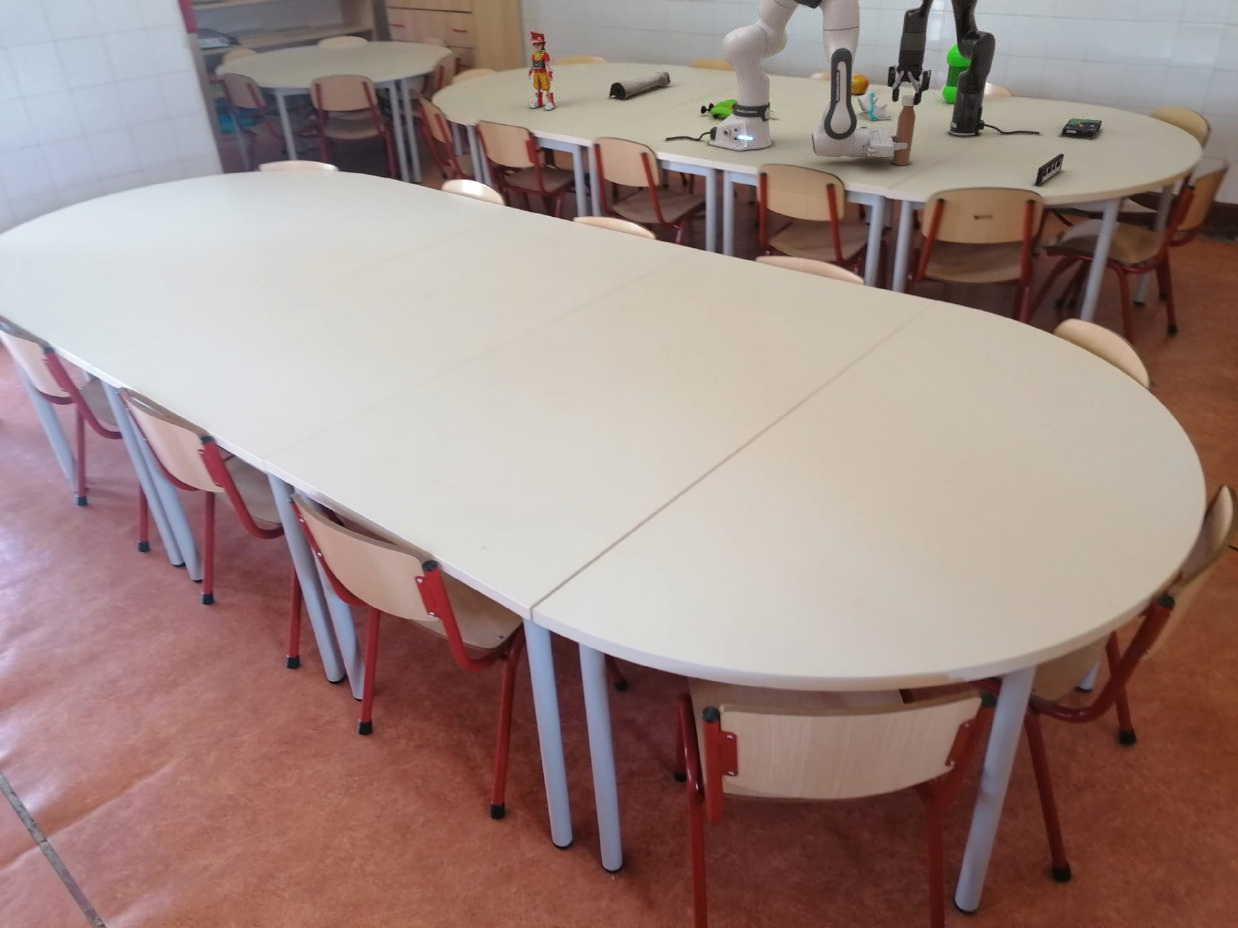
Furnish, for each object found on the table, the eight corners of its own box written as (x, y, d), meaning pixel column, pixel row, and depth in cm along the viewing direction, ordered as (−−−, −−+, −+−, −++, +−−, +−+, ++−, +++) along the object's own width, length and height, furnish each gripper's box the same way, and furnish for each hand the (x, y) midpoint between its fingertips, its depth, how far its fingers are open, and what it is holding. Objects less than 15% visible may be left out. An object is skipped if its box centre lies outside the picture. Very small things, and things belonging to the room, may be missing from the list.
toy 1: (525, 109, 381) (517, 32, 364) (534, 104, 388) (527, 28, 371) (550, 110, 377) (543, 32, 360) (559, 105, 384) (553, 28, 367)
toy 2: (691, 117, 351) (761, 130, 338) (692, 103, 348) (762, 116, 335) (722, 107, 371) (789, 118, 359) (724, 93, 368) (791, 105, 356)
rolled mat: (651, 76, 408) (662, 61, 399) (662, 93, 408) (674, 79, 400) (605, 92, 391) (616, 77, 383) (617, 110, 391) (628, 95, 383)
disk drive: (1093, 139, 305) (1100, 128, 315) (1095, 131, 303) (1102, 120, 313) (1060, 136, 309) (1068, 125, 319) (1062, 128, 308) (1070, 117, 318)
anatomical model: (852, 89, 345) (878, 82, 344) (855, 116, 351) (880, 109, 350) (864, 98, 333) (891, 91, 332) (866, 126, 338) (893, 119, 338)
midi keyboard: (1039, 185, 269) (1043, 168, 266) (1035, 184, 270) (1038, 168, 267) (1060, 170, 279) (1064, 154, 277) (1056, 169, 280) (1060, 153, 277)
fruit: (842, 86, 371) (854, 68, 368) (844, 90, 378) (856, 72, 375) (859, 97, 369) (871, 79, 366) (861, 100, 377) (873, 83, 374)
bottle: (889, 163, 294) (898, 99, 283) (896, 159, 298) (905, 96, 286) (904, 166, 292) (913, 101, 280) (911, 162, 295) (920, 98, 283)
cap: (904, 102, 287) (905, 94, 285) (918, 103, 284) (919, 96, 283) (899, 105, 284) (900, 97, 282) (912, 106, 282) (914, 99, 280)
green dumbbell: (973, 101, 354) (984, 32, 339) (955, 106, 349) (966, 36, 335) (952, 97, 361) (962, 29, 346) (934, 102, 356) (944, 33, 342)
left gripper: (865, 142, 283) (910, 141, 281) (861, 125, 299) (904, 124, 297) (863, 162, 286) (907, 161, 284) (859, 144, 303) (902, 143, 301)
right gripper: (940, 47, 273) (932, 104, 282) (899, 42, 282) (893, 97, 291) (926, 51, 269) (918, 109, 278) (885, 46, 278) (879, 102, 287)
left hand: (906, 142), depth 291 cm, fingers closed on bottle, 5 cm apart
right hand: (905, 103), depth 285 cm, fingers open, 7 cm apart
